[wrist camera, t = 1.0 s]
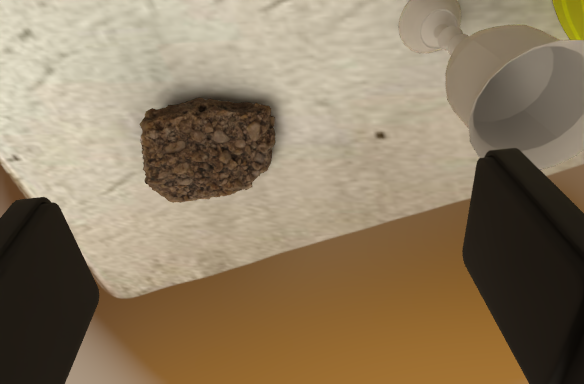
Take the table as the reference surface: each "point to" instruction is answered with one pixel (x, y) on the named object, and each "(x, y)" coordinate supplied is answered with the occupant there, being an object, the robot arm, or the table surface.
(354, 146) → the table surface
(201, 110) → the concrete sample
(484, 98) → the chalice
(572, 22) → the pulley
